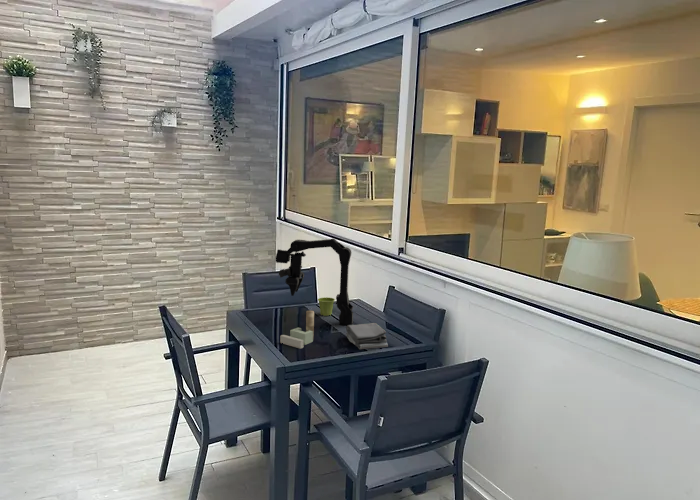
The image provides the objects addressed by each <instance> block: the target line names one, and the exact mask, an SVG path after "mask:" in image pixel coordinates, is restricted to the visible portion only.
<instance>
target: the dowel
mask: <svg viewBox="0 0 700 500" xmlns="http://www.w3.org/2000/svg"><path fill="white" fill-rule="evenodd" d="M305 321H306V322H305V323H306V324H305V332H307V331H313V339H314V337H315V336H314V335H315V334H314V333H315V328H314V327H315V311H314V310H306V314H305Z"/></svg>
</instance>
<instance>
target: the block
mask: <svg viewBox="0 0 700 500" xmlns="http://www.w3.org/2000/svg"><path fill="white" fill-rule="evenodd" d="M289 334H290V335H289V336H290V337H294V338H298V339H301V340H304V346H306V345H308V344H311V343H313V342H314V338H313V331H307V332H306V331H303V330H302V328H301V327H296V328H292V329H290V333H289Z"/></svg>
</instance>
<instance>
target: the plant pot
mask: <svg viewBox="0 0 700 500" xmlns="http://www.w3.org/2000/svg"><path fill="white" fill-rule="evenodd" d="M317 302H318V304H319V314H320V315H321V316H322V315H323V316H324V317H327V316H329V315H330V316H332V315H333V314H332V313H333V309H334V308H333V307H334V303H335V302H336V299H335V298H333V297H328V296H327V297H319V298H317ZM331 314H332V315H331Z"/></svg>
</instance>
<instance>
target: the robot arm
mask: <svg viewBox="0 0 700 500" xmlns="http://www.w3.org/2000/svg"><path fill="white" fill-rule="evenodd" d="M318 248H319V249H321V248H331V250H333V251H334V252H335V253H336V254H338V257H339V264H340V279H339V281H340V283H339V293H338V294H337V295H336V297H335V298H336V299H335V305H336V307H337V309H338V310H339V312H340V314H339V315H338V322H339V325H340V326H348V325H354V312H353V309H354V306H353V305H352V303H351V302H350V298H349V292H348V286H349V266H350V261H351V256H352V250H351V249H350V247H348V246H347V247H346V246H344V245H343V244H342V243H340V242H339V241H338V240H336V238H329V239H315V240H306V239H295V240H294V241H292V242H291V243H290V245H289V248H288V249H287V250H284V249H283V250H282V249H279V248H278V249H277V251H276V256H275V263H277V264H279V263H280V264H288V263H289V262H290V266H289V267H288V268H282V269H280V270H279V271H278V276H279V278H280V279H281V278H283V277H287V278H285V280H284V281H285V284H286V285H287V286H289V291H290V295H291V296H292V297H294V295H295V293H297V292H298V291H299V289H300V287H301V285H302V283H303V280H304V277H305V273H304V272H303V271H302V268H303V265H302V263H303V262H302V260H303V259H302V258H304V257H306V256H307V254H306V253H305V252H304V251H305V250H310V249H318Z"/></svg>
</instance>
